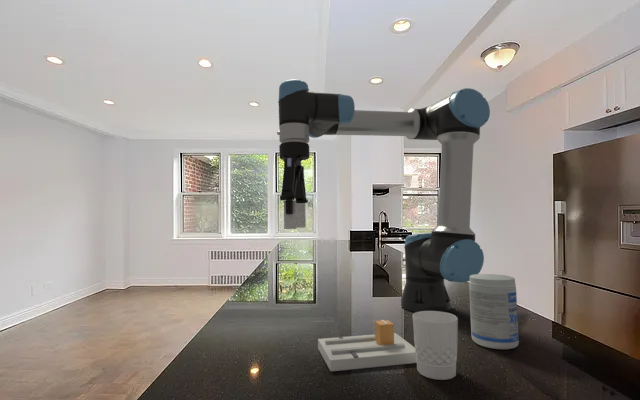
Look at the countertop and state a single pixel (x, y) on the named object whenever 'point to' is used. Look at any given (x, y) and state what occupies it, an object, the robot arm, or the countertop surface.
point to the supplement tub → (493, 311)
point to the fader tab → (384, 332)
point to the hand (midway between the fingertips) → (295, 228)
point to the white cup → (436, 344)
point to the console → (364, 352)
